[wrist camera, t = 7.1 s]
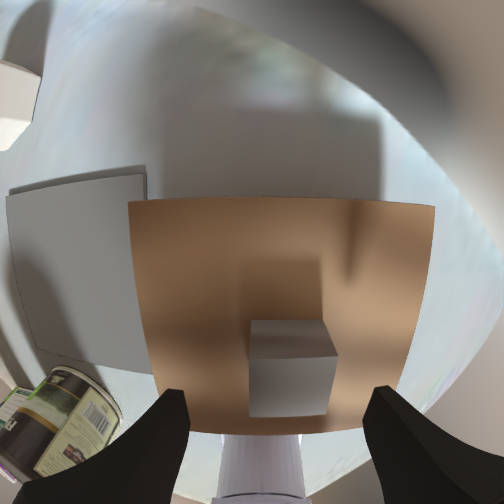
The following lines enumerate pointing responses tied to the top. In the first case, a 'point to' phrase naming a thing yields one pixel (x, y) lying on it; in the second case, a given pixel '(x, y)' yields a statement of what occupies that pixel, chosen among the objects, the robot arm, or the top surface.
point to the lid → (278, 305)
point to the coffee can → (58, 426)
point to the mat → (80, 270)
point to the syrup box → (6, 410)
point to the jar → (16, 101)
